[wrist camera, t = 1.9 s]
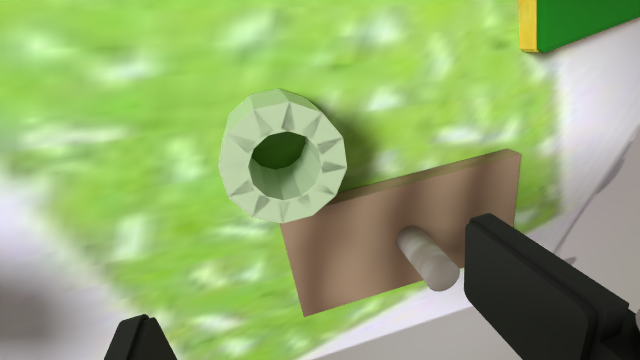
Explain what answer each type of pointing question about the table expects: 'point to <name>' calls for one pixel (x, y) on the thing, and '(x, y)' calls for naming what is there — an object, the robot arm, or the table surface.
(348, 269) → the post stand
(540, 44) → the dish sponge
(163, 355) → the robot arm
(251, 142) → the ring
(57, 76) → the table surface
